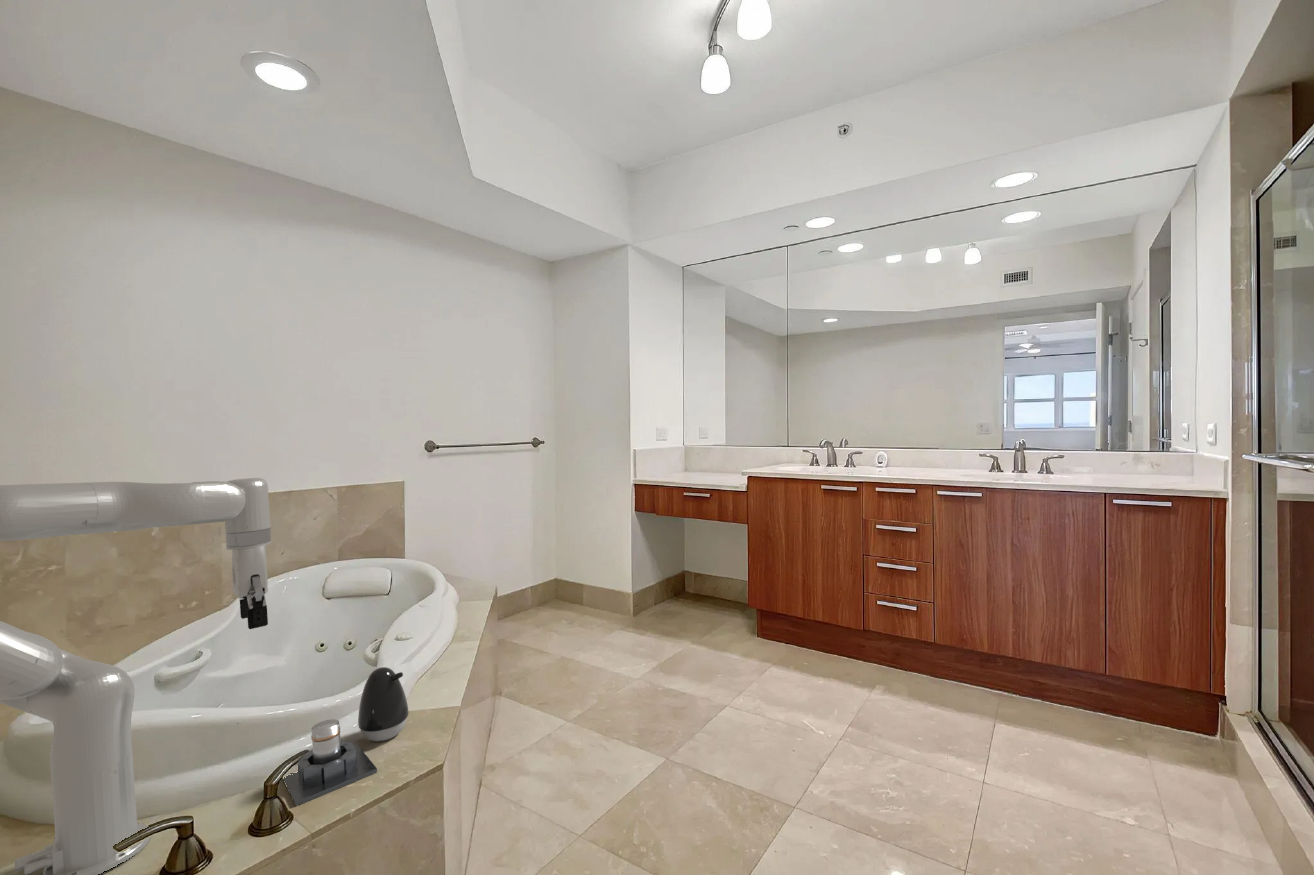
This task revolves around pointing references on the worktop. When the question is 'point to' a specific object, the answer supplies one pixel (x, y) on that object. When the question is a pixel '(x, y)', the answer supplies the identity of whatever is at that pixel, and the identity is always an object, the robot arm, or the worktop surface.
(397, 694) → the pump dispenser
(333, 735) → the piston
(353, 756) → the bore block
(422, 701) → the worktop surface
